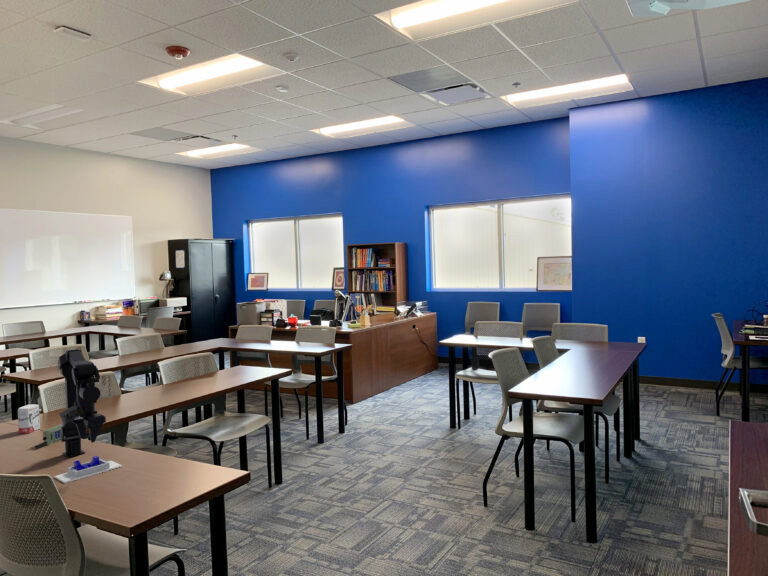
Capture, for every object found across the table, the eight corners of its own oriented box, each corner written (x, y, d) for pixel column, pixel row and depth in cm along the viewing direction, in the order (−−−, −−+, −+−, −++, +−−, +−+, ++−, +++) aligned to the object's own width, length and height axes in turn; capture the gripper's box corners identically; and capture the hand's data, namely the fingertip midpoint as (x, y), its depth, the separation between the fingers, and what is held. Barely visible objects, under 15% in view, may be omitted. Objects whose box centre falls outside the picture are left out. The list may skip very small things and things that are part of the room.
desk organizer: (54, 477, 203) (54, 470, 203) (111, 462, 218) (110, 455, 218) (64, 483, 197) (64, 476, 197) (121, 466, 212) (121, 460, 212)
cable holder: (78, 474, 203) (77, 463, 203) (74, 472, 206) (73, 461, 206) (101, 468, 209) (100, 457, 209) (97, 466, 212) (96, 455, 212)
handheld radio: (80, 432, 260) (39, 450, 235) (73, 432, 261) (32, 450, 236) (79, 418, 260) (38, 434, 235) (72, 418, 260) (31, 434, 236)
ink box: (28, 433, 259) (27, 408, 259) (18, 434, 259) (17, 408, 259) (40, 428, 268) (39, 403, 268) (30, 428, 268) (29, 403, 268)
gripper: (51, 398, 206) (53, 441, 207) (72, 405, 194) (74, 450, 195) (83, 393, 215) (85, 433, 215) (105, 399, 203) (107, 442, 203)
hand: (87, 440), depth 207 cm, fingers open, 9 cm apart
